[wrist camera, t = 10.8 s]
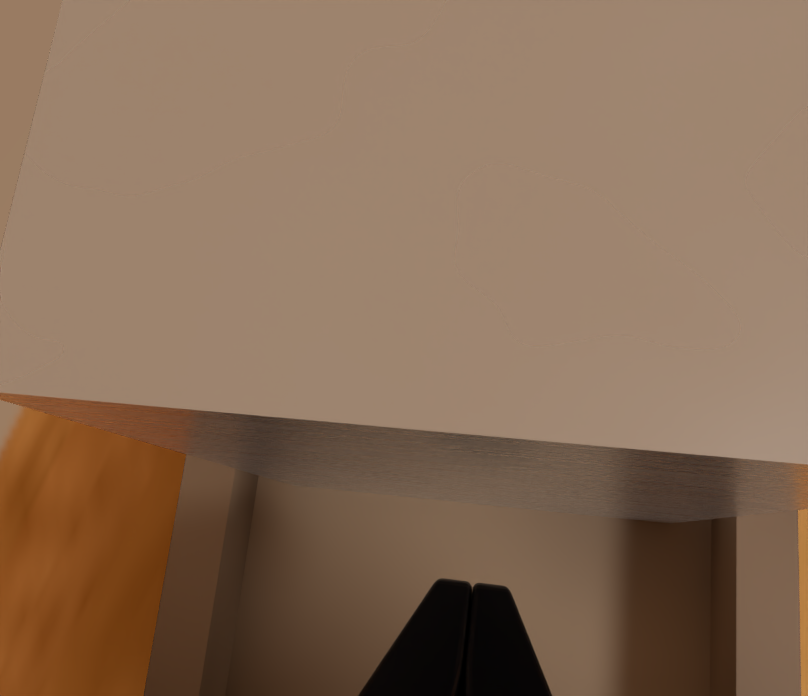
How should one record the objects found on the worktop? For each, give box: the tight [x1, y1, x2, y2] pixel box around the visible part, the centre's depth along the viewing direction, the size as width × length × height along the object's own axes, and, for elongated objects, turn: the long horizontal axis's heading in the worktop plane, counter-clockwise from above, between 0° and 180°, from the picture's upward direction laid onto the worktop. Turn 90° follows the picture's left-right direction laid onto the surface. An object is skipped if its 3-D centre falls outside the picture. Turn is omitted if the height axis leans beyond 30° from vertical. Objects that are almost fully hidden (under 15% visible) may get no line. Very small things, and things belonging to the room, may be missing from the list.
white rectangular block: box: [0, 0, 808, 523], centre depth 9 cm, size 6×6×8 cm
